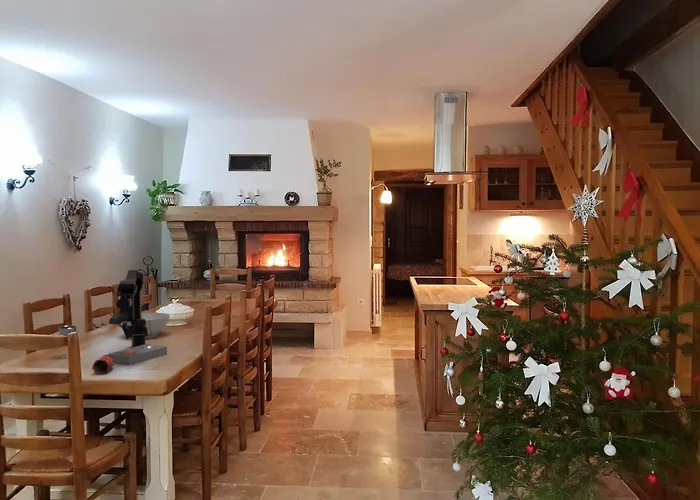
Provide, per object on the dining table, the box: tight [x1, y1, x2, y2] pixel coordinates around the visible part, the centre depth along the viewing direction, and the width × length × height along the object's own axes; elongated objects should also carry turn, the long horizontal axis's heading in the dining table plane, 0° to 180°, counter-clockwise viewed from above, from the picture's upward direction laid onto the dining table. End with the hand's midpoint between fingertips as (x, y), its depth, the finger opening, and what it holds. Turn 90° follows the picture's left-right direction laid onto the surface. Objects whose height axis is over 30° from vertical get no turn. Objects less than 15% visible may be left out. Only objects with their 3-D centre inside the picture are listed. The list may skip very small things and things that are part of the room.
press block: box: [108, 343, 168, 366], centre depth 266 cm, size 14×24×4 cm, turn 155°
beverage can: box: [91, 354, 116, 375], centre depth 242 cm, size 7×12×7 cm, turn 9°
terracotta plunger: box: [122, 348, 133, 354], centre depth 260 cm, size 4×4×4 cm
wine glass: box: [58, 325, 78, 359], centre depth 268 cm, size 8×8×15 cm
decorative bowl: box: [141, 312, 171, 339], centre depth 318 cm, size 27×27×12 cm
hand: (127, 339), depth 260 cm, fingers closed
